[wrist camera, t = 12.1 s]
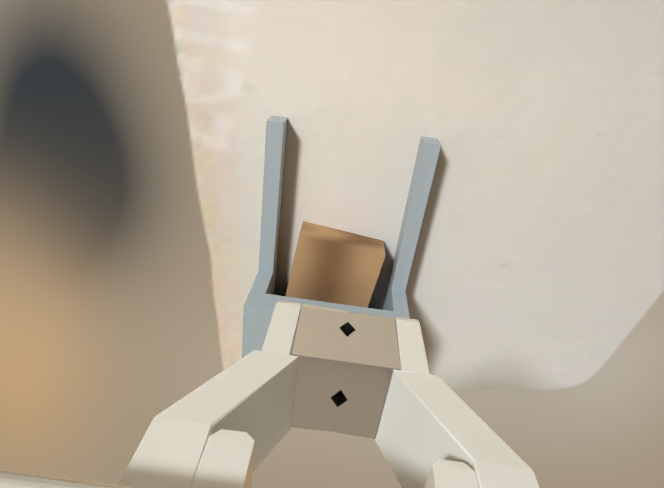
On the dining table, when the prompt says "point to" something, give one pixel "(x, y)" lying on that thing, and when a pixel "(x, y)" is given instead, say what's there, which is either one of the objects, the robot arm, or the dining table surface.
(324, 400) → the robot arm
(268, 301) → the grey u-shaped frame
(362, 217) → the dining table surface
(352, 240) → the tan cardboard slab
